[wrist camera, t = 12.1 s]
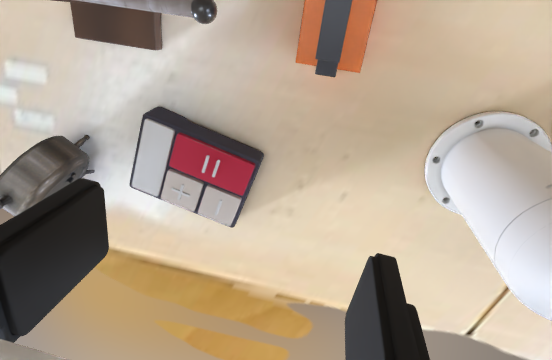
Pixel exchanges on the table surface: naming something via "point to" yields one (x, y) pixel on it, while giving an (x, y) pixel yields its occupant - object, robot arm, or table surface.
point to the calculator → (193, 166)
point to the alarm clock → (42, 173)
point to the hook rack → (133, 19)
